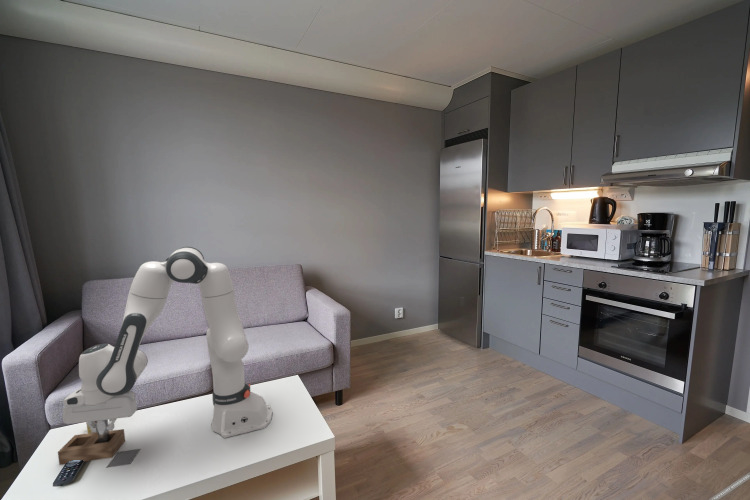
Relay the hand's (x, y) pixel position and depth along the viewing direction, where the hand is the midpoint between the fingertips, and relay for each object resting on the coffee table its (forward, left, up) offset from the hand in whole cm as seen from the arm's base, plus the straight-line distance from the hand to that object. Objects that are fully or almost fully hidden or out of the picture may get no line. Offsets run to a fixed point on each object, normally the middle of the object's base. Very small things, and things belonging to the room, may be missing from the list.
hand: (103, 430), depth 110 cm
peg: (0, 0, -5) cm, 5 cm away
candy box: (+9, -12, -8) cm, 17 cm away
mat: (-8, +5, -8) cm, 12 cm away
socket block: (+4, 0, -8) cm, 9 cm away
